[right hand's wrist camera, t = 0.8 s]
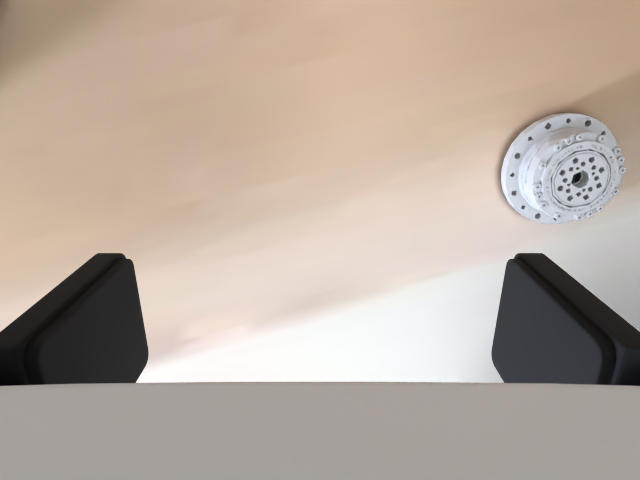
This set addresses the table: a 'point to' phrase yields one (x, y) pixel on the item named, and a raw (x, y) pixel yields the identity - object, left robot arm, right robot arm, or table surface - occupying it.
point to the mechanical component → (562, 169)
